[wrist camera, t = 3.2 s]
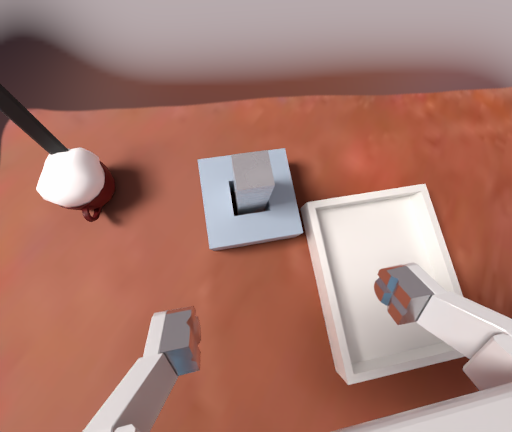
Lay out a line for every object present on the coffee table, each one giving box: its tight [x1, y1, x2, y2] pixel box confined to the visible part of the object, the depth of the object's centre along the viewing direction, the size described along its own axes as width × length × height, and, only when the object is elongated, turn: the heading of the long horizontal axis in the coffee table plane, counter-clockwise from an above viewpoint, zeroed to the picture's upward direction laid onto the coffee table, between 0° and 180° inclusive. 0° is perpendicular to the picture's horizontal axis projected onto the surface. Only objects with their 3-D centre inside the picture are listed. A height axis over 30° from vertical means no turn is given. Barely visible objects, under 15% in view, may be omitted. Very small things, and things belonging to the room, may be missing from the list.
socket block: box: [198, 148, 303, 251], centre depth 27 cm, size 10×10×4 cm
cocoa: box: [0, 84, 115, 222], centre depth 22 cm, size 10×6×12 cm, turn 177°
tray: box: [300, 184, 465, 385], centre depth 26 cm, size 15×19×3 cm
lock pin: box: [231, 150, 275, 216], centre depth 23 cm, size 3×3×11 cm
